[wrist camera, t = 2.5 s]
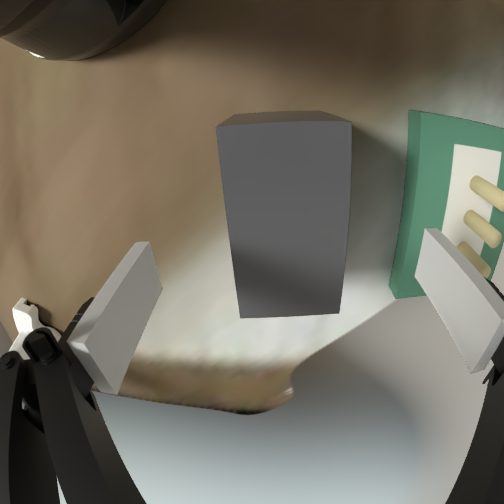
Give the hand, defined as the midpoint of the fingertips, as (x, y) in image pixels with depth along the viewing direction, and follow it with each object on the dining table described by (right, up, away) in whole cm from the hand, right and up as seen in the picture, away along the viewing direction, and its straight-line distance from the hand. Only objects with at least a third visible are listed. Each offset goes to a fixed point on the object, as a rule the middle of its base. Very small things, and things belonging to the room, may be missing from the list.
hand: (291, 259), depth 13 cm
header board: (+16, +4, +8) cm, 19 cm away
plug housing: (0, +5, +8) cm, 10 cm away
